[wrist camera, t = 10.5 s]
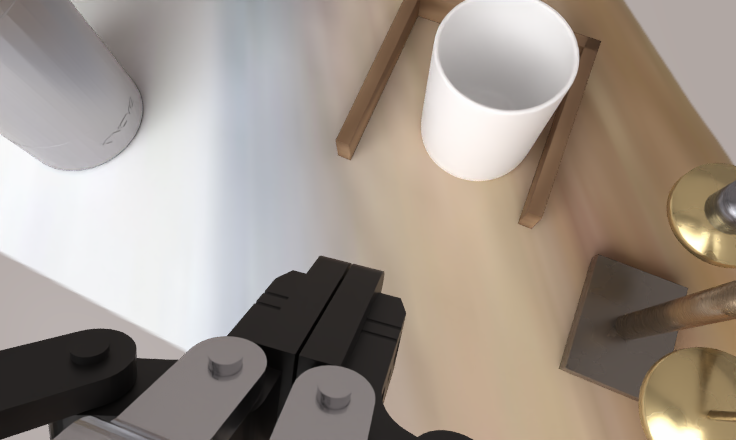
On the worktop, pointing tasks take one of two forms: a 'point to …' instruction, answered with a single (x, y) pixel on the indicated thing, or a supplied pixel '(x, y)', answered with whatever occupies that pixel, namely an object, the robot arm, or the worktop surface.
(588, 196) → the worktop surface
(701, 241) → the balance
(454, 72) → the mug
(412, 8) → the tray frame
